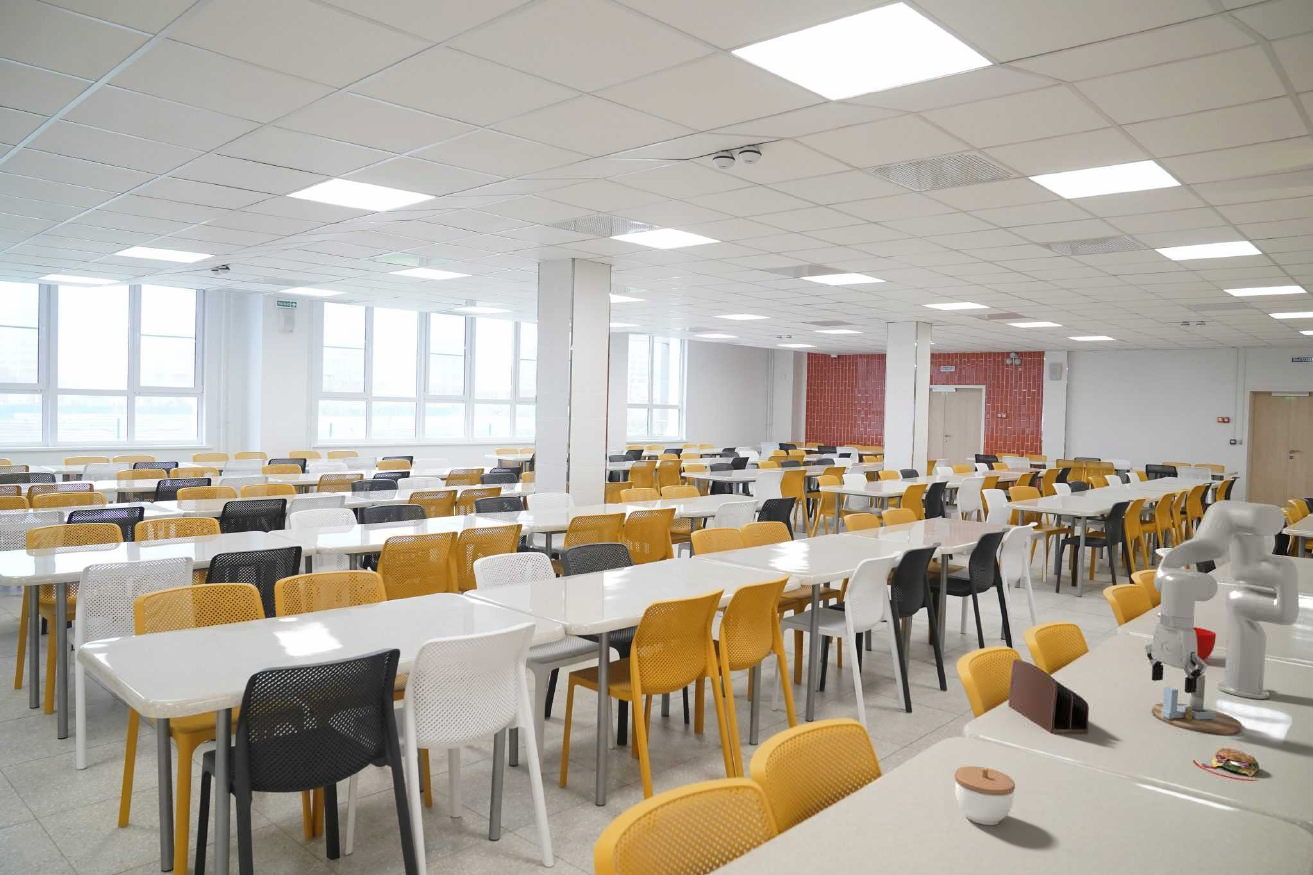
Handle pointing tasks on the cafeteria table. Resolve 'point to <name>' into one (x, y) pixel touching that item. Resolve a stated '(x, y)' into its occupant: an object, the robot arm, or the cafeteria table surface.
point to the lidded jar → (984, 794)
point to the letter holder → (1046, 700)
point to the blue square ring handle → (1180, 707)
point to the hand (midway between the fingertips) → (1173, 686)
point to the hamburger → (1233, 763)
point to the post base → (1211, 726)
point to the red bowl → (1204, 642)
